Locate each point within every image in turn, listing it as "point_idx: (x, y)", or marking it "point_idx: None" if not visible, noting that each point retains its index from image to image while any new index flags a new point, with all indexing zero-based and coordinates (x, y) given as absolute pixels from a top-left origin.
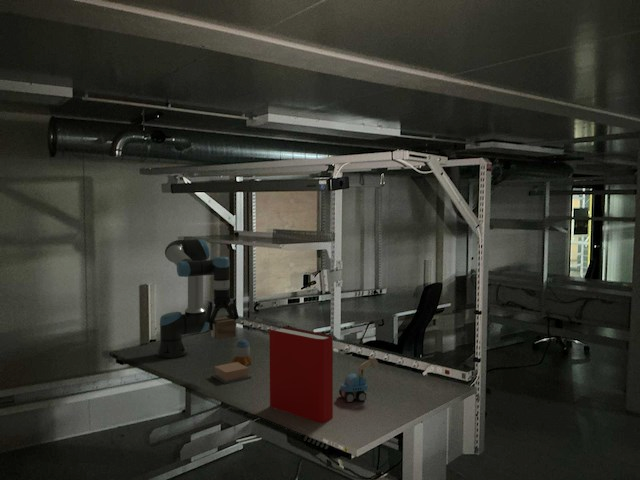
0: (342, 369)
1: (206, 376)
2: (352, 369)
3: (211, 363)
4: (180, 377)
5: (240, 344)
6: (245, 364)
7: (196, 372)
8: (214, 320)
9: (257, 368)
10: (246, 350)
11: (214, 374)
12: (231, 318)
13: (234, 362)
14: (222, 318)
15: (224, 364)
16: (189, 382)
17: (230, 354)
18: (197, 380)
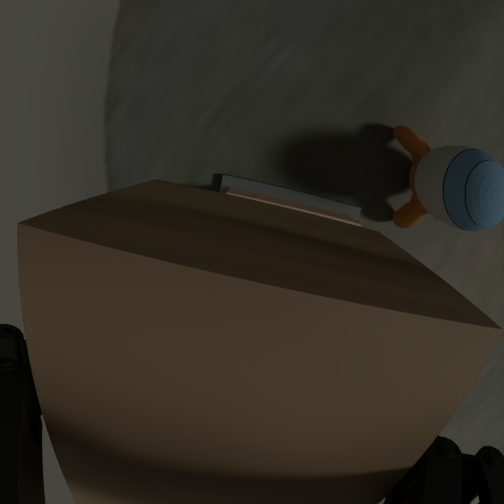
0: (493, 417)
1: (205, 154)
2: (496, 426)
3: (350, 17)
4: (121, 84)
5: (458, 204)
6: (401, 225)
7: (211, 68)
8: (66, 425)
9: (429, 248)
10: (453, 226)
11: (229, 186)
12: (423, 469)
13: (346, 221)
14: (323, 419)
15: (285, 206)
16: (110, 171)
17: (475, 12)
18: (145, 173)
